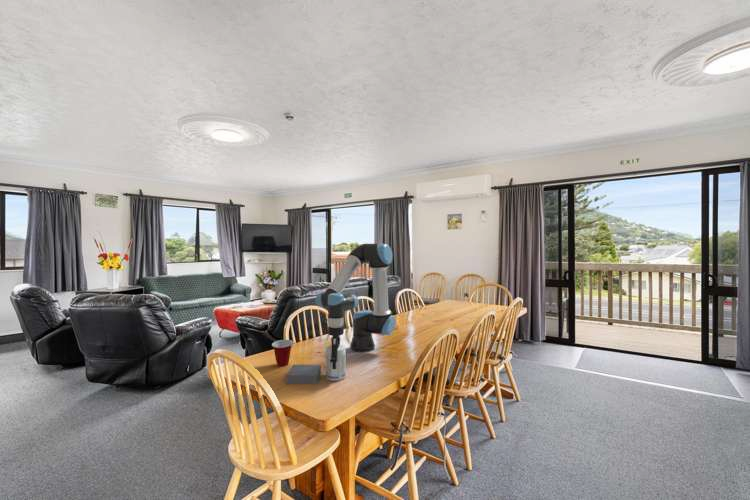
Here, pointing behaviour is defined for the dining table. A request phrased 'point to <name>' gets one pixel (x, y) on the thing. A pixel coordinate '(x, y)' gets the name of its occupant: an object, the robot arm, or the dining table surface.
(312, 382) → the plinth
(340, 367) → the supplement tub
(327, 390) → the dining table surface
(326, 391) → the dining table surface
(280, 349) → the plastic cup
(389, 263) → the robot arm
